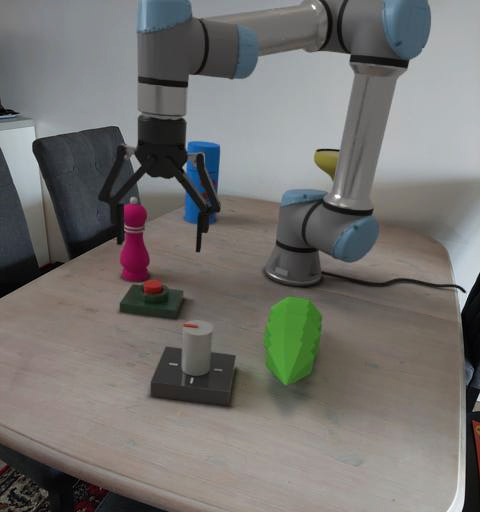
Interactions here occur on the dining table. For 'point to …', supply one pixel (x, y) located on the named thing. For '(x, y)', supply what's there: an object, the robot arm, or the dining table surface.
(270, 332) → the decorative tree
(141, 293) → the button box
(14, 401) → the dining table surface
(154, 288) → the button
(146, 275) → the pepper mill
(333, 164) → the cocktail glass
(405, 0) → the robot arm
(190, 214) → the thermos
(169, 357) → the panel
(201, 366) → the knob
